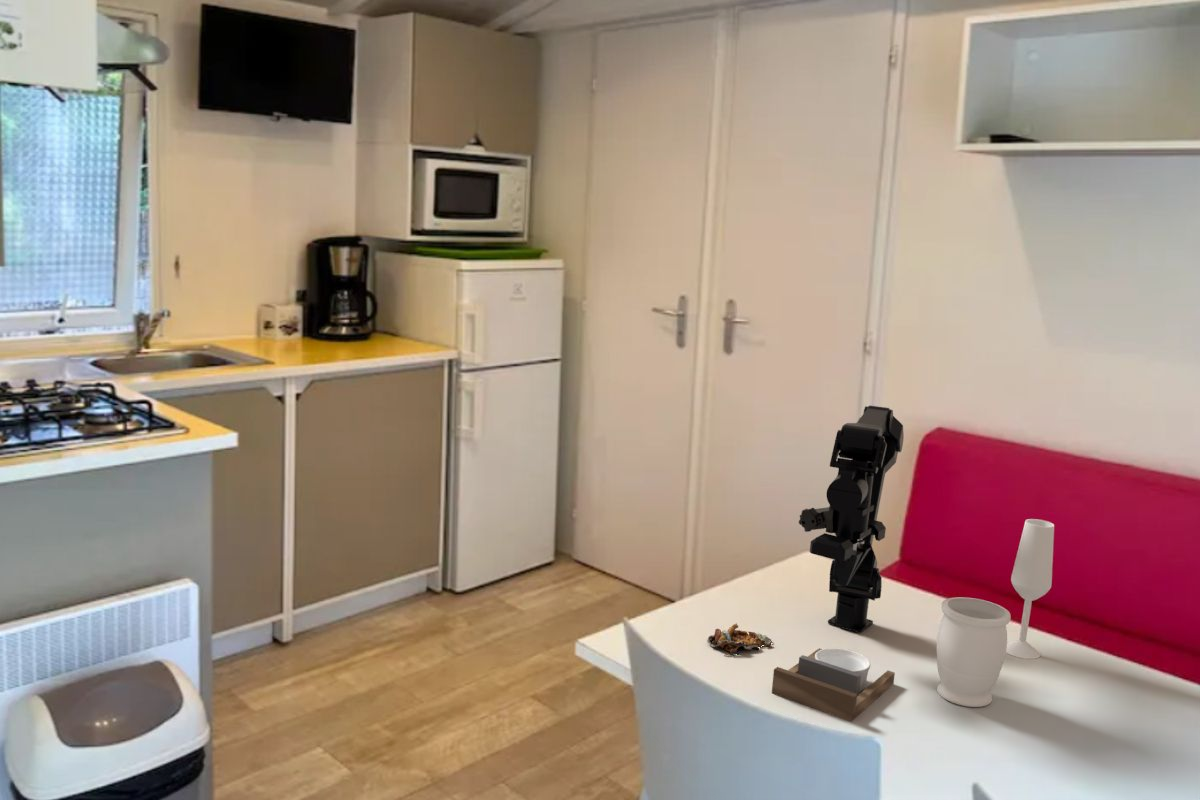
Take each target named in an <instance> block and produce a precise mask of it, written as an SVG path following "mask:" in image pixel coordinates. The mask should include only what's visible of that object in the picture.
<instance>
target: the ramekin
mask: <svg viewBox="0 0 1200 800" xmlns="http://www.w3.org/2000/svg"><path fill="white" fill-rule="evenodd" d="M821 649H822V650H819V651H818V652H816V654H815V659H816V660H819V661H822V662H825V663H828V664H831V665H834V666H837V667H840V668H843V669H847V670H850V671H853V672H856V673H859V674H861V680H860V689H859V693H860V692H861V691H864V690H865V687H866V685H867V683H866V682H867V680H868V674H869V670H870V669H871V661H870V660H869V658H867V657H866V656H865V655H863V654H861V653H859V652H856V651H853V650H849V649H845V648H837V647H829V648H821Z"/></svg>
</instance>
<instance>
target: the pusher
mask: <svg viewBox="0 0 1200 800" xmlns="http://www.w3.org/2000/svg"><path fill="white" fill-rule="evenodd" d="M798 663H799V665H798V674H800V675H803V676H806V677H809V678H812V679H814V680H817V681H820V682H823V683H826V684H829V685H832V686H835V687H838V688H841V689H844V690H847V691H850V692H852V693H855V694H857V696H858V695H859V694H860V692H859V689H860V680H861V674H859V673H856V672H853V671H850V670H847V669H843V668H840V667H837V666H834V665H831V664H828V663H825V662H822V661H819V660H816V659H813V658H810V657H808V655H804V654H802V655H800V656H799V659H798Z"/></svg>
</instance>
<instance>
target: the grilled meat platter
mask: <svg viewBox="0 0 1200 800" xmlns="http://www.w3.org/2000/svg"><path fill="white" fill-rule="evenodd" d="M738 629H739V624H738V623H737V622H735V623H734V624H732V625H731V627H729V628H728V629H727V630H721V629H719V628H715V631H714V634H712V635H710V636H708V638H707V639H706V641H707V644H710V646H711V647H714V648H717V647H721V648H722V649H723V650H725V651H727V652H730V654H724V655H723V657H725V658H731V657H736V656H739V652H738V649H739V648H740V647H742V648H743V649H744V650H745V649H746V650H752V649H753V648H757V649H758V647H761V646H762V645H764V646H762V647H769V648H771V647H770V646H772V645H771V643H773V644H774V641H773V640H772V639H771V638H769V636H768V635H766V634H762V633H760V632H754V631H747V630H746V631H745V630H740V629H739V630H738ZM771 640H772V641H773V642H772V641H771ZM758 651H760V650H759V649H758ZM736 654H737V655H736Z"/></svg>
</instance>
